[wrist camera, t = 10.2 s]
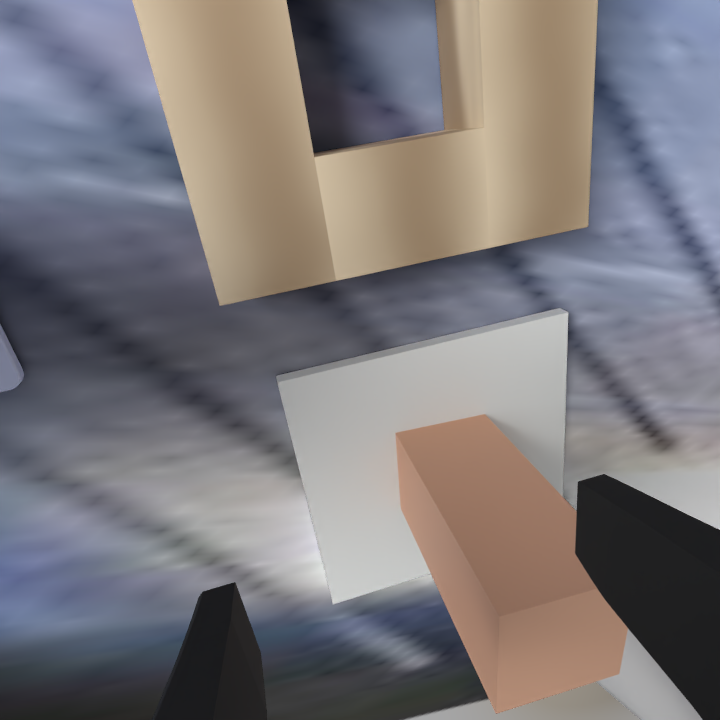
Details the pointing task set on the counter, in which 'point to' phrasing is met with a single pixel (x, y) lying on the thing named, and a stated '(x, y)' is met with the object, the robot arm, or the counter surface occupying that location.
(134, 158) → the counter surface
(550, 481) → the mat
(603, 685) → the flask
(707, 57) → the counter surface
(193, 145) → the pocket block
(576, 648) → the peg
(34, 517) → the counter surface
